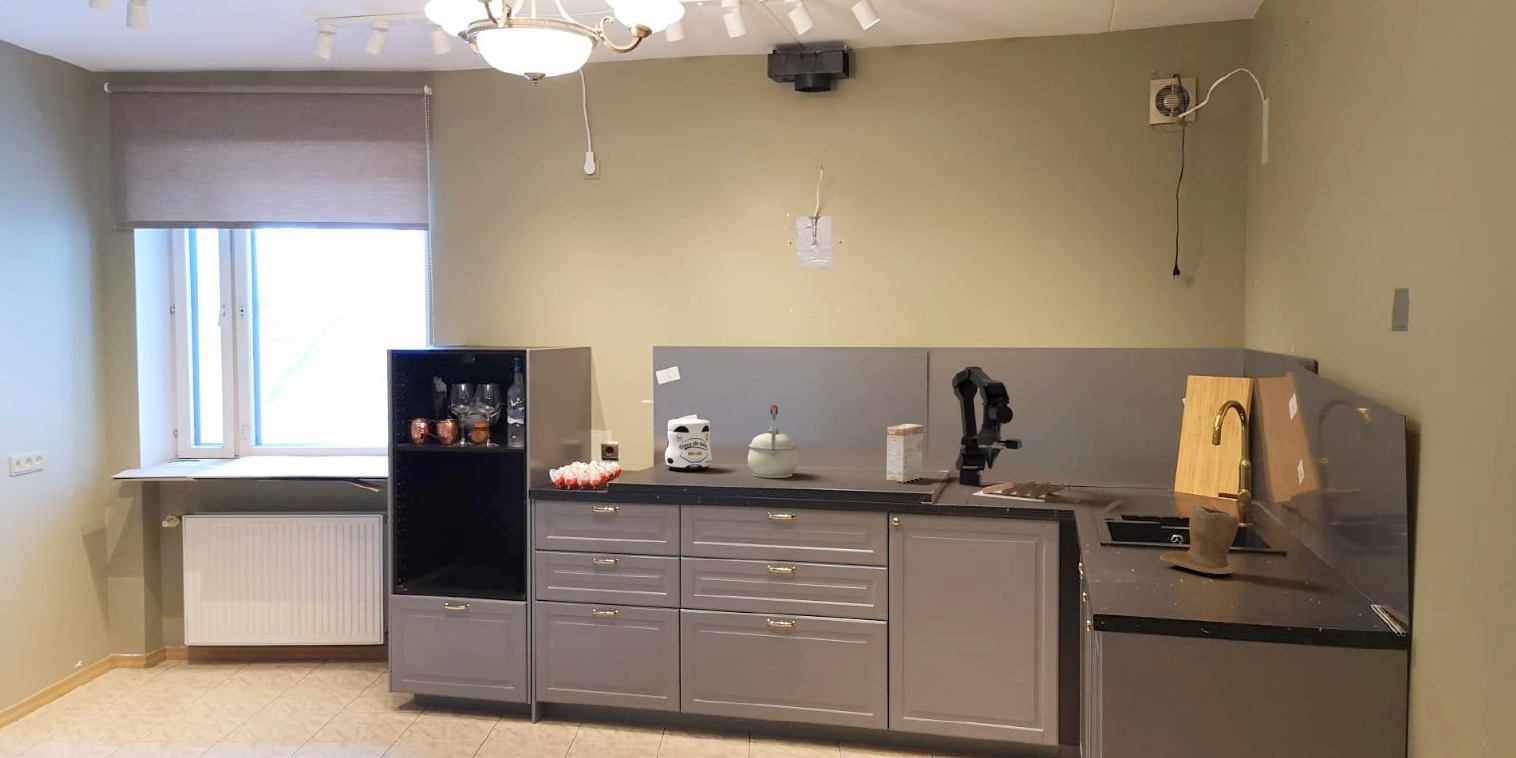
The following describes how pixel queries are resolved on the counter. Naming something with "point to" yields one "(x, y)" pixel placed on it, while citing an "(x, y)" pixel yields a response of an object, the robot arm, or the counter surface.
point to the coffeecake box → (904, 452)
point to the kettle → (773, 453)
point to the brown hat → (1207, 539)
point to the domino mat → (1011, 496)
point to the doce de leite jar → (688, 444)
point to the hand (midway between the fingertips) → (990, 468)
